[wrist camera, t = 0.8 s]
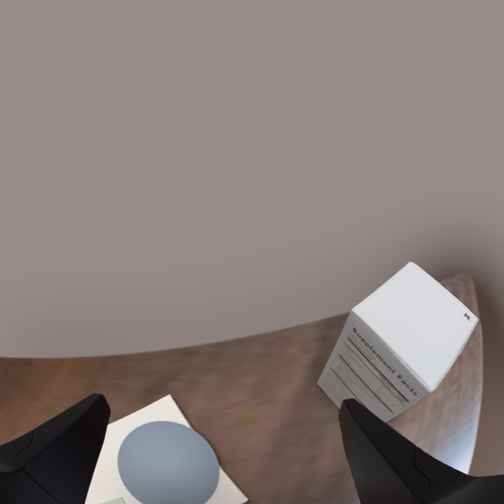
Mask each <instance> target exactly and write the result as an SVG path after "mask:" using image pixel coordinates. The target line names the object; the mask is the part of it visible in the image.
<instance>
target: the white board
mask: <svg viewBox="0 0 504 504" xmlns="http://www.w3.org/2000/svg"><path fill="white" fill-rule="evenodd" d="M248 500H249V499H248V498H247V497H246V496H245V494H244V493H243V492H242V491H241V490H240V489H239V488H238V487H237V485H236V484H235V483H234V482H233V481H232V480H231V478H230V477H229V476H228V475H227V474H226V472H225V471H224V470H223V469H222V467H221V466H220V465H219V464H218V460H217V457H216V455H215V453H214V451H213V449H212V447H211V446H210V444H209V443H208V442H207V441H206V440H205V439H204V438H203V437H202V436H201V435H200V434H198V433H197V432H196V431H194V430H193V428H192V427H191V425H190V424H189V422H188V421H187V419H186V418H185V416H184V415H183V413H182V411H181V410H180V408H179V407H178V405H177V404H176V402H175V400H174V399H173V397H172V396H171V395H168V396H166V397H164V398H162V399H160V400H158V401H156V402H154V403H153V404H151V405H149V406H147V407H145V408H143V409H141V410H139V411H137V412H135V413H133V414H131V415H128V416H126V417H124V418H122V419H120V420H118V421H116V422H114V423H111V424H109V425H108V426H107V431H106V435H105V440H104V443H103V447H102V450H101V453H100V456H99V459H98V462H97V465H96V468H95V471H94V474H93V477H92V481H91V484H90V487H89V491H88V494H87V498H86V502H85V504H243V503H244V502H246V501H248Z"/></svg>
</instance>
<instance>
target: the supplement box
mask: <svg viewBox="0 0 504 504" xmlns="http://www.w3.org/2000/svg"><path fill="white" fill-rule="evenodd" d="M477 323H478V319H477V318H476V316H475V315H474V314H473V313H472V312H471V311H470V310H469V309H468V308H467V307H466V306H464V305H463V304H462V303H461V302H460V301H459V300H458V299H457V298H455V297H454V296H453V295H452V294H451V293H450V292H449V291H447V290H446V289H445V288H444V287H443V286H442V285H440V284H439V283H438V282H437V281H436V280H434V279H433V278H432V277H431V276H430V275H428V274H427V273H426V272H425V271H423V270H422V269H421V268H420V267H418V266H417V265H416V264H414V263H413V262H409V263H408V264H407V265H406V266H405V267H403V268H402V269H401V270H400V271H399V272H398V273H396V274H395V275H394V276H393V277H392V278H390V279H389V280H388V281H387V282H386V283H384V284H383V285H382V286H381V287H379V288H378V289H377V290H376V291H375V292H373V293H372V294H371V295H369V296H368V297H367V298H366V299H364V300H363V301H362V302H361V303H359V304H358V305H357V306H356V307H354V308H353V309H352V310H351V312H350V315H349V317H348V319H347V321H346V323H345V326H344V328H343V330H342V333H341V335H340V337H339V339H338V341H337V343H336V345H335V347H334V349H333V352H332V354H331V356H330V358H329V360H328V362H327V364H326V366H325V368H324V370H323V372H322V374H321V376H320V378H319V380H318V382H317V384H318V386H319V387H320V388H321V389H322V390H323V391H324V393H325V394H326V395H327V396H328V397H329V398H330V399H331V400H332V402H333V403H334V404H335V405H336V406H337V407H338V408H339V409H340V408H341V404H342V401H343V400H344V399H349V398H355V399H356V400H357V401H359V402H360V403H361V404H362V405H364V406H365V407H366V408H367V409H369V410H370V411H371V412H372V413H374V414H375V415H376V416H378V417H379V418H380V419H381V420H383V421H384V422H387V421H389V420H390V419H392V418H394V417H396V416H397V415H399V414H401V413H402V412H404V411H406V410H407V409H409V408H410V407H412V406H414V405H415V404H417V403H418V402H420V401H421V400H423V399H424V398H425V397H427V396H428V395H429V394H431V393H432V392H433V391H434V390H435V389H436V387H437V386H438V385H439V383H440V382H441V381H442V379H443V378H444V376H445V375H446V373H447V372H448V370H449V369H450V368H451V366H452V365H453V363H454V361H455V360H456V358H457V357H458V355H459V354H460V353H461V351H462V349H463V347H464V345H465V344H466V342H467V340H468V338H469V337H470V335H471V333H472V332H473V330H474V328H475V326H476V324H477Z"/></svg>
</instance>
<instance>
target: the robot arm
mask: <svg viewBox="0 0 504 504" xmlns="http://www.w3.org/2000/svg"><path fill="white" fill-rule="evenodd" d="M110 413H111V410H110V407H109V405H108V403H107V401H106V399H105V397H104V395H102V394H98V393H93V394H91V395H90V396H88V397H86V398H85V399H83V400H82V401H80V402H78V403H77V404H75V405H73V406H72V407H70V408H69V409H67V410H65V411H64V412H62V413H60V414H59V415H57V416H55V417H54V418H52V419H50V420H49V421H47V422H45V423H43V424H42V425H40V426H38V427H37V428H35V429H34V430H31V431H30V432H28V433H26V434H24V435H22V436H21V437H19V438H16V439H14V440H12V441H10V442H8V443H5V444H3V445H0V504H85V502H86V498H87V494H88V491H89V487H90V484H91V481H92V477H93V474H94V471H95V468H96V465H97V462H98V459H99V456H100V453H101V450H102V447H103V443H104V440H105V435H106V431H107V426H108V422H109V418H110ZM339 422H340V427H341V433H342V439H343V444H344V450H345V454H346V457H347V460H348V463H349V467H350V470H351V473H352V476H353V479H354V483H355V486H356V489H357V493H358V496H359V499H360V502H361V504H504V475H495V476H485V477H475V476H470V475H467V474H465V473H463V472H460V471H458V470H456V469H454V468H452V467H450V466H448V465H446V464H444V463H442V462H441V461H439V460H437V459H435V458H434V457H432V456H430V455H429V454H427V453H426V452H424V451H423V450H422V449H420V448H419V447H416V445H415V444H413V443H412V442H411V441H409V440H408V439H406V438H405V437H404V436H402V435H401V434H400V433H398V432H397V431H396V430H394V429H393V428H392V427H391V426H389V425H388V424H387V423H385V422H384V421H383V420H381V419H380V418H379V417H378V416H376V415H375V414H374V413H372V412H371V411H370V410H369V409H367V408H366V407H365V406H364V405H362V404H361V403H360V402H359V401H357V400H356V399H355V398H349V399H344V400H343V401H342V404H341V408H340V411H339Z"/></svg>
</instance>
